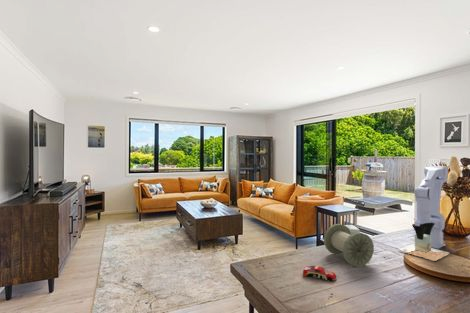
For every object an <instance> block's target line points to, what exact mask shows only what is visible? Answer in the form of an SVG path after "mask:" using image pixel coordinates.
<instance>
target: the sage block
mask: <svg viewBox="0 0 470 313" xmlns="http://www.w3.org/2000/svg"><path fill="white" fill-rule="evenodd" d="M415 243H419V244H423V245H428V244H430V235H427V234H424V237H423V240H420V239H417V235H416V233H415V234H414V244H415Z"/></svg>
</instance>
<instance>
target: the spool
mask: <svg viewBox="0 0 470 313" xmlns="http://www.w3.org/2000/svg"><path fill="white" fill-rule="evenodd" d="M323 244H324V247H325V249H327V251H328V252H329V253H331V254H334V255H336V254H337V255H343V257H344V259H345V261H346V262H347V263H348V264H349V265H350V266H353V267H356V268H358V267H364V266H365V265H367V264H369V262H370V261H371V259H373V255H374V252H375V249H374V248H375V247H374V246H375V245H374V242H373V240H372V238H371V237H370V236H369V235H368V234H365V233H363V232H358V233H353V234H352V235H351V233H350V230H349V229H348V228H347V227H346V226H345V225H344V224H341V223H334V224H332V225H331V226H328V228H327V229H326V231H325V233H324V236H323Z"/></svg>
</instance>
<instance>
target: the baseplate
mask: <svg viewBox="0 0 470 313" xmlns="http://www.w3.org/2000/svg"><path fill="white" fill-rule="evenodd" d="M411 251H416V250H415V243H411V244H409V245H407V246H404V247H402V248H399V249H398V252H399V253H402V254H405V253H407V252H411ZM431 251H433V252H441V253H447V254H449V255H450V251H449V252H448V251H444V250H440V249H437V248H433V247H431Z"/></svg>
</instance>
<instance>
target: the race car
mask: <svg viewBox="0 0 470 313" xmlns="http://www.w3.org/2000/svg"><path fill="white" fill-rule="evenodd" d="M302 275H303V276H304V277H307V278H308V277H312V278H311V279H317V278H318V279H317V280H323V279H324V280H323V281H328V280H329V281H328V282H333V281H335V280H336V279H337V274H336V273H335V272H334V271H332V270H329V269H325V268H324V267H321V266H318V265H308V266H307V265H306V266H304V267H303V270H302Z"/></svg>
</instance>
